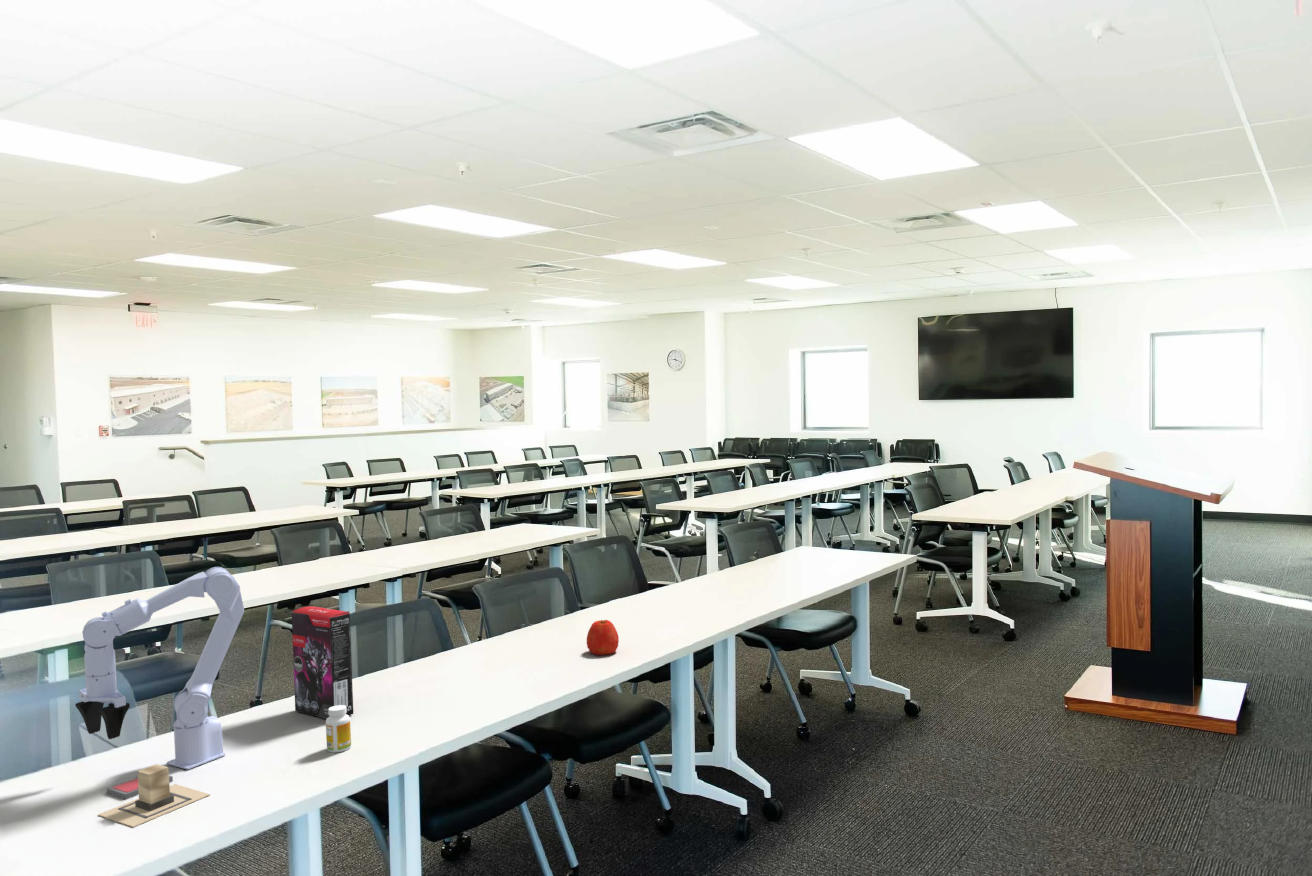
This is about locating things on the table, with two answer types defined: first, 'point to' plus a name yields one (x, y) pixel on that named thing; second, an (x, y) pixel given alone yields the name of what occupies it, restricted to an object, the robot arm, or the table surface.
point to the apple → (602, 638)
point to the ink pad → (127, 788)
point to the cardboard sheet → (138, 816)
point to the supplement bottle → (338, 729)
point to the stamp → (153, 788)
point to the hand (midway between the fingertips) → (104, 734)
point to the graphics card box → (322, 660)
